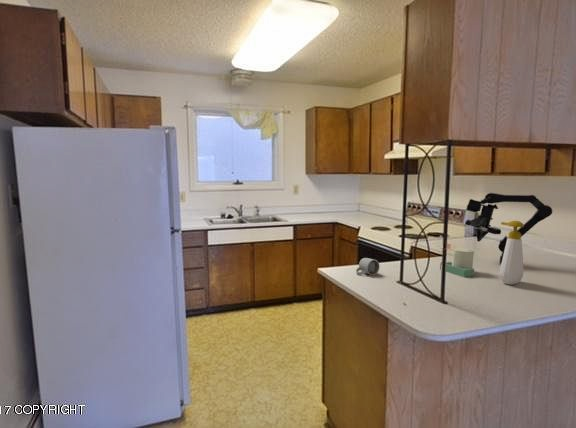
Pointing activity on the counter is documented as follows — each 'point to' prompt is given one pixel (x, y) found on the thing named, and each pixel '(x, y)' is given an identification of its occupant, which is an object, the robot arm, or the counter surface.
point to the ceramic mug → (368, 266)
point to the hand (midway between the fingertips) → (478, 241)
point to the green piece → (458, 270)
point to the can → (463, 258)
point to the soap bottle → (512, 256)
